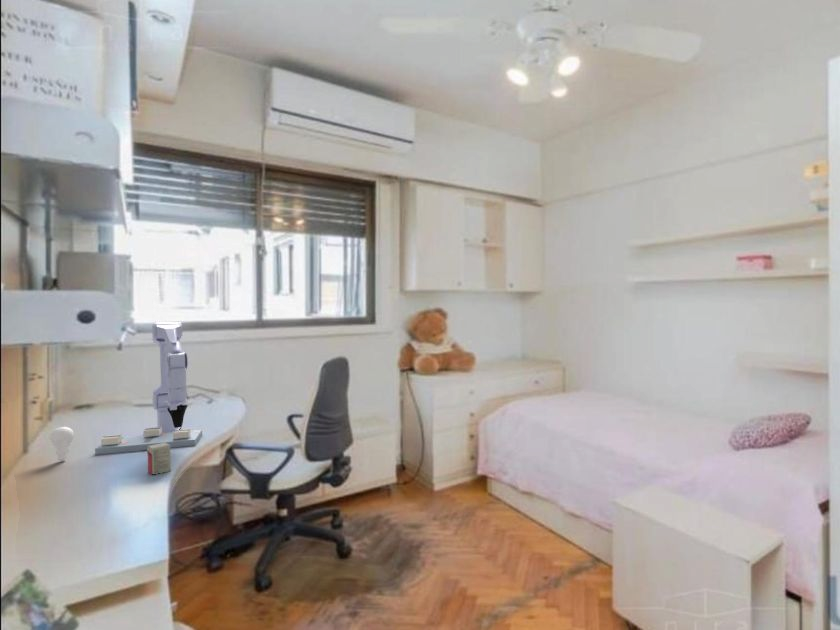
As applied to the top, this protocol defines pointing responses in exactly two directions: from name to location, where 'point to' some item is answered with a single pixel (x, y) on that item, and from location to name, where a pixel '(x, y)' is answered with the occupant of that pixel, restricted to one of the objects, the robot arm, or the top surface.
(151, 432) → the knob
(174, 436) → the knob
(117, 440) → the knob
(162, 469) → the small box
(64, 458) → the lightbulb
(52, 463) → the top surface
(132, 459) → the top surface
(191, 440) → the switch unit
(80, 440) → the top surface
